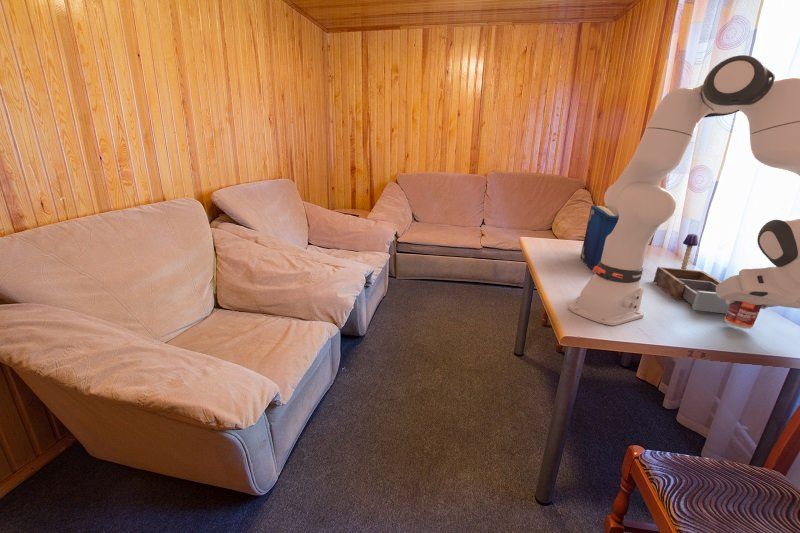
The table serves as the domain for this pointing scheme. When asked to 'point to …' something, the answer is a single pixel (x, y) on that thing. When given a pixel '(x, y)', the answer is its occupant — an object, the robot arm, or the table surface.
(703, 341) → the table surface
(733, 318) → the pill bottle
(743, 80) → the robot arm
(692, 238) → the toy lamp
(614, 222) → the book
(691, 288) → the tray
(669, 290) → the walnut box
